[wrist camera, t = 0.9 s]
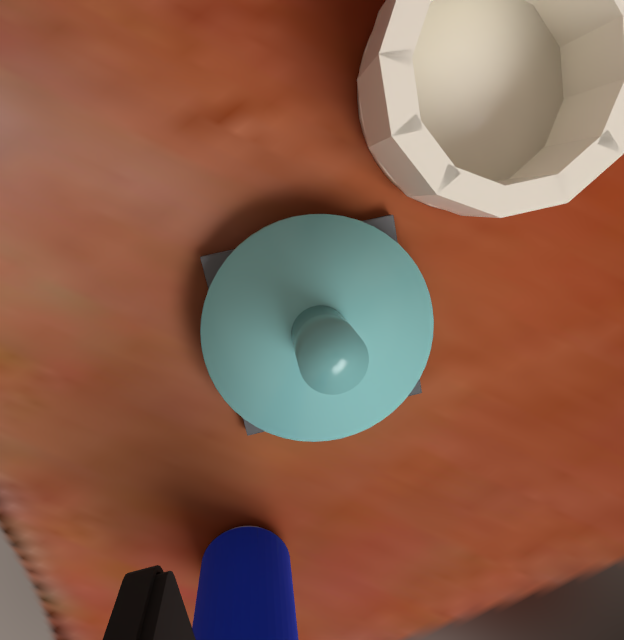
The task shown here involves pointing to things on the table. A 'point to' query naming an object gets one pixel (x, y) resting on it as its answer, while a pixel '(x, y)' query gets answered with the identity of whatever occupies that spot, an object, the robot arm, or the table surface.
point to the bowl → (494, 100)
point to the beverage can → (245, 588)
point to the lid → (316, 327)
